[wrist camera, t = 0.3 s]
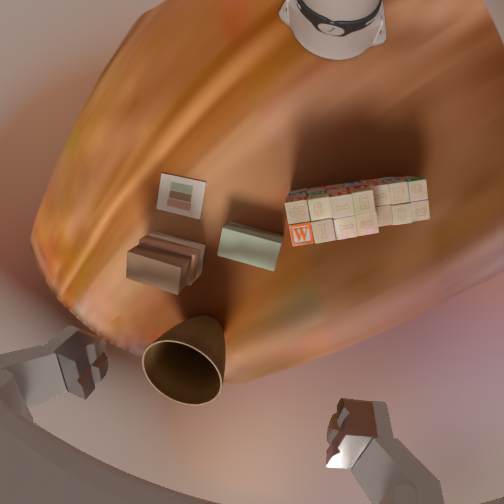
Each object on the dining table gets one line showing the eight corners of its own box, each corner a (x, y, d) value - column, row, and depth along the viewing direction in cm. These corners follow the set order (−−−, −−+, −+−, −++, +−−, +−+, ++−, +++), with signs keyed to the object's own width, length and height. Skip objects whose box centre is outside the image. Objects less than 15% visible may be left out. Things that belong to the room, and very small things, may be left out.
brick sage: (229, 221, 56) (222, 227, 52) (283, 235, 55) (281, 243, 51) (224, 246, 58) (217, 255, 53) (276, 260, 57) (273, 271, 52)
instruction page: (162, 173, 55) (161, 173, 55) (206, 182, 54) (206, 182, 54) (156, 208, 58) (156, 209, 58) (199, 219, 57) (199, 219, 57)
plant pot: (241, 360, 66) (223, 412, 51) (178, 350, 68) (149, 396, 53) (241, 301, 61) (219, 349, 46) (171, 293, 63) (135, 334, 48)
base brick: (154, 230, 59) (139, 239, 54) (206, 244, 58) (195, 255, 53) (151, 258, 61) (137, 269, 56) (201, 273, 60) (190, 285, 55)
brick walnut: (141, 242, 54) (127, 251, 49) (192, 257, 53) (181, 267, 48) (139, 267, 56) (126, 277, 51) (188, 282, 55) (177, 295, 50)
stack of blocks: (408, 173, 48) (434, 181, 36) (412, 208, 49) (437, 225, 38) (289, 190, 53) (283, 202, 41) (295, 225, 54) (291, 247, 43)
